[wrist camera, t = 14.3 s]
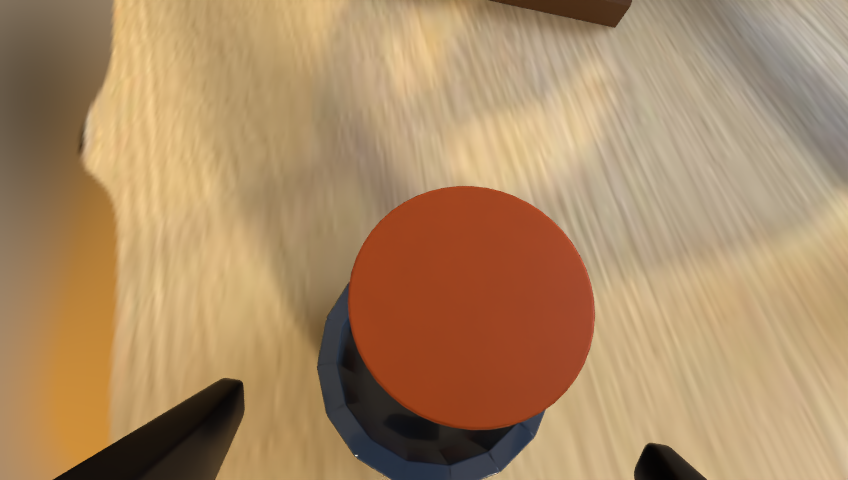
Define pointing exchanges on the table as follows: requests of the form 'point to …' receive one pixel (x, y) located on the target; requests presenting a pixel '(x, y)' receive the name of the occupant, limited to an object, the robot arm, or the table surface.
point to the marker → (471, 308)
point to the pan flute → (579, 9)
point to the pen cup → (403, 420)
